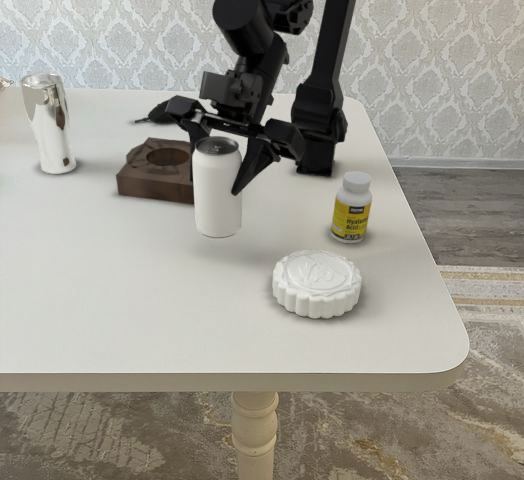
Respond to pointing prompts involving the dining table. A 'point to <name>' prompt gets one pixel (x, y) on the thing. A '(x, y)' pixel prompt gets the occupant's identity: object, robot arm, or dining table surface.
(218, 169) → the can
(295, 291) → the mooncake
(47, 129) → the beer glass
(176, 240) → the dining table surface
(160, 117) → the gaming mouse
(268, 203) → the dining table surface
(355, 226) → the supplement bottle
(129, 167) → the holder board
